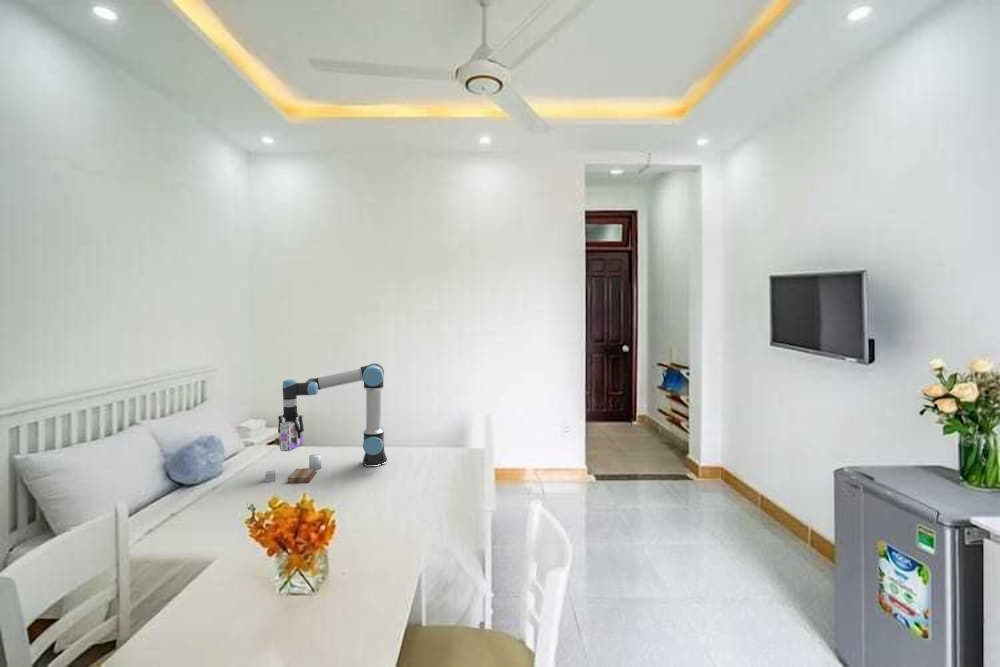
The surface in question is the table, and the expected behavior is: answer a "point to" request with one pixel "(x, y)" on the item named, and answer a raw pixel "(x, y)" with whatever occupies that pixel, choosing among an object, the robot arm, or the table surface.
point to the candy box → (289, 436)
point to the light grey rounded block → (315, 461)
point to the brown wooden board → (302, 475)
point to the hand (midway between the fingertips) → (291, 443)
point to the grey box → (270, 476)
